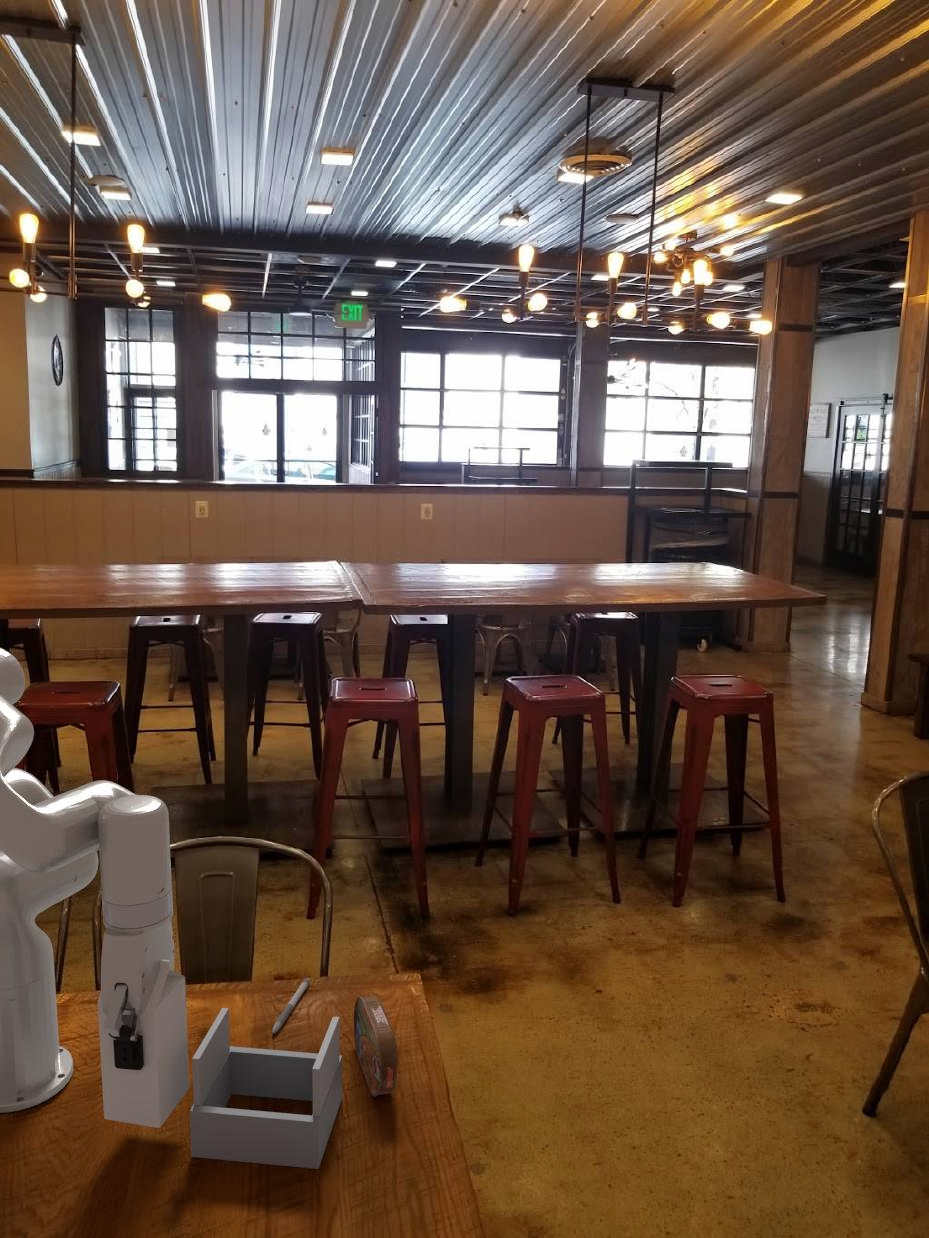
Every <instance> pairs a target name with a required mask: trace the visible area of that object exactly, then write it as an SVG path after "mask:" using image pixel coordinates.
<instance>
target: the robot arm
mask: <svg viewBox="0 0 929 1238" xmlns="http://www.w3.org/2000/svg"><path fill="white" fill-rule="evenodd" d="M25 676H26V675H25V672H24V669H23V667H22V665H21V663H20V662H19V660H18V659H17V658H16V657H15V656H14V655H13V654H12V653H10V652H9V651H7V650H6V649H4V648H2V647H0V1114H1V1113H2V1114H3V1113H11V1112H18V1111H22V1110H26V1109H30V1108H31V1107H34V1106H37V1105H39V1104H41V1103H44V1102H46V1101H48V1100H49V1099H50V1098H52V1097H53V1096H55V1095H56V1094H58V1093H59V1092H60V1091H61V1090H62V1089H64V1088H65V1086H66V1085H67V1084H68V1082H70V1080H71V1077H72V1076H73V1073H74V1059H73V1055H72V1054H71V1052H70V1051H69V1050H68V1049H66V1048H65V1047H63V1046H61V1045H60V1037H59V1025H58V1024H59V1023H58V1006H57V1005H58V1004H57V991H56V989H57V988H56V977H55V961H54V959H55V958H54V950H53V945H52V942H51V939H50V937H49V936H48V935H47V934H46V933H45V932H44V931H43V930H42V929H41V928H40V927H38V925H37V924H36V922H35V919H36V918H37V916H38V915H39V914H41V913H42V912H44V911H45V910H47V909H49V908H50V907H52V906H54V905H56V904H58V903H60V902H61V901H63V900H65V899H67V898H68V897H71V896H73V895H75V894H76V893H78V892H79V891H81V890H82V889H84V888H85V887H87V886H88V885H89V884H90V883H91V882H93V880H94V878H95V877H96V875H97V872H98V867H99V866H100V867H99V868H100V870H99V871H100V884H101V885H100V887H101V900H102V901H101V902H102V903H101V904H102V905H101V906H102V918H103V919H102V921H103V925H104V927H105V930H104V933H103V938H102V949H101V958H100V959H101V961H100V963H101V964H100V994H101V1006H102V1011H103V1013H105V1014H107V1013H108V1014H107V1017H106V1020H105V1023H104V1028H105V1030H106V1031H107V1032H108V1033H109V1036H111V1039H112V1040H113V1045H114V1063H115V1067H116V1068H118V1069H129V1070H141V1069H142V1068H143V1066H144V1056H143V1036H140V1035H139V1031H140V1015H141V1014H143V1013H144V1012H145V1009H146V1006H147V1004H148V1001H149V998H150V996H151V993H152V990H153V988H154V985H155V982H156V980H157V977H158V974H159V971H160V960H169V961H170V970H172V971H175V969H174V968H175V952H176V950H175V949H176V948H175V944H174V943H175V942H174V933H173V932H174V931H173V925H172V923H173V922H172V917H173V914H174V909H173V907H174V906H173V905H174V904H173V903H174V902H173V886H172V885H173V884H172V867H171V866H172V864H171V863H172V862H171V861H172V860H171V859H172V858H171V838H170V818H169V816H170V815H169V809H168V807H167V804H166V803H165V802H164V801H163V800H162V799H160V798H158V797H156V796H152V795H146V794H145V795H144V794H143V795H142V794H137V793H134V792H132V791H130V790H129V789H128V788H127V789H126V788H125V787H124V786H121V785H120V784H118V783H115V782H113V781H109V780H105V779H104V780H103V779H101V780H95V781H91V782H88V783H86V784H84V785H80V786H79V787H76V788H74V789H71V790H68V791H65V792H62V793H60V794H57V795H55V796H54V795H53V794H52V792H50V791H49V789H48V788H47V787H46V786H45V785H44V784H43V783H42V782H41V781H40V780H39V779H38V778H37V777H35V776H34V775H33V774H32V773H30V772H27V771H25V770H24V769H20V768H17V767H16V766H17V765H18V764H20V762H21V761H22V760H23V758H25V756H26V754H27V753H28V751H29V749H30V747H31V745H32V743H33V741H34V736H35V730H34V729H35V728H34V725H33V724H32V723H33V722H31V720H30V719H29V718H28V717H27V716H26V715H25V714H24V713H22V712H21V711H20V710H19V709H18V708H16V707H15V706H14V704H15V703H18V701H19V700H20V699H21V697H22V696H23V695H24V693H25V692H24V691H25V689H26V677H25ZM98 851H99V855H98ZM98 856H99V857H98ZM167 977H168V976H167ZM127 1002H130V1004H131V1006H132V1007H133V1008H135V1010H128V1009H125V1006H126V1003H127ZM122 1015H127V1016H133V1021H132V1027H131V1028H130V1027H129V1026H127V1025H123V1022H122Z"/></svg>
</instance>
